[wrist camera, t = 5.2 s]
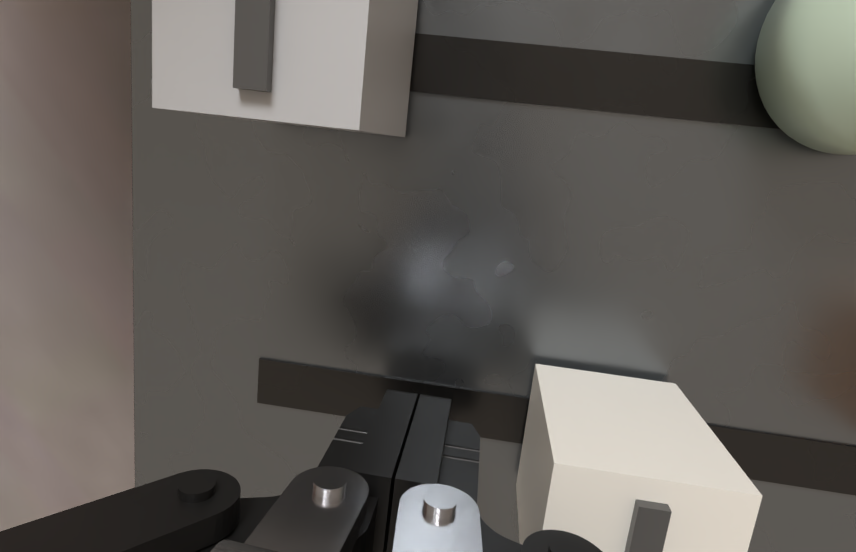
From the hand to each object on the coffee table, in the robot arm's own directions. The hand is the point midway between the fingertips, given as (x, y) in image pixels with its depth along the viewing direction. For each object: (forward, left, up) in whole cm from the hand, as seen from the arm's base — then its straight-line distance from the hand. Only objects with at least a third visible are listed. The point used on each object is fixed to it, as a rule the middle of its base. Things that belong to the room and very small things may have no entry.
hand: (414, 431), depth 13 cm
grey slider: (-8, -3, -1) cm, 9 cm away
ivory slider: (0, +4, -1) cm, 4 cm away
